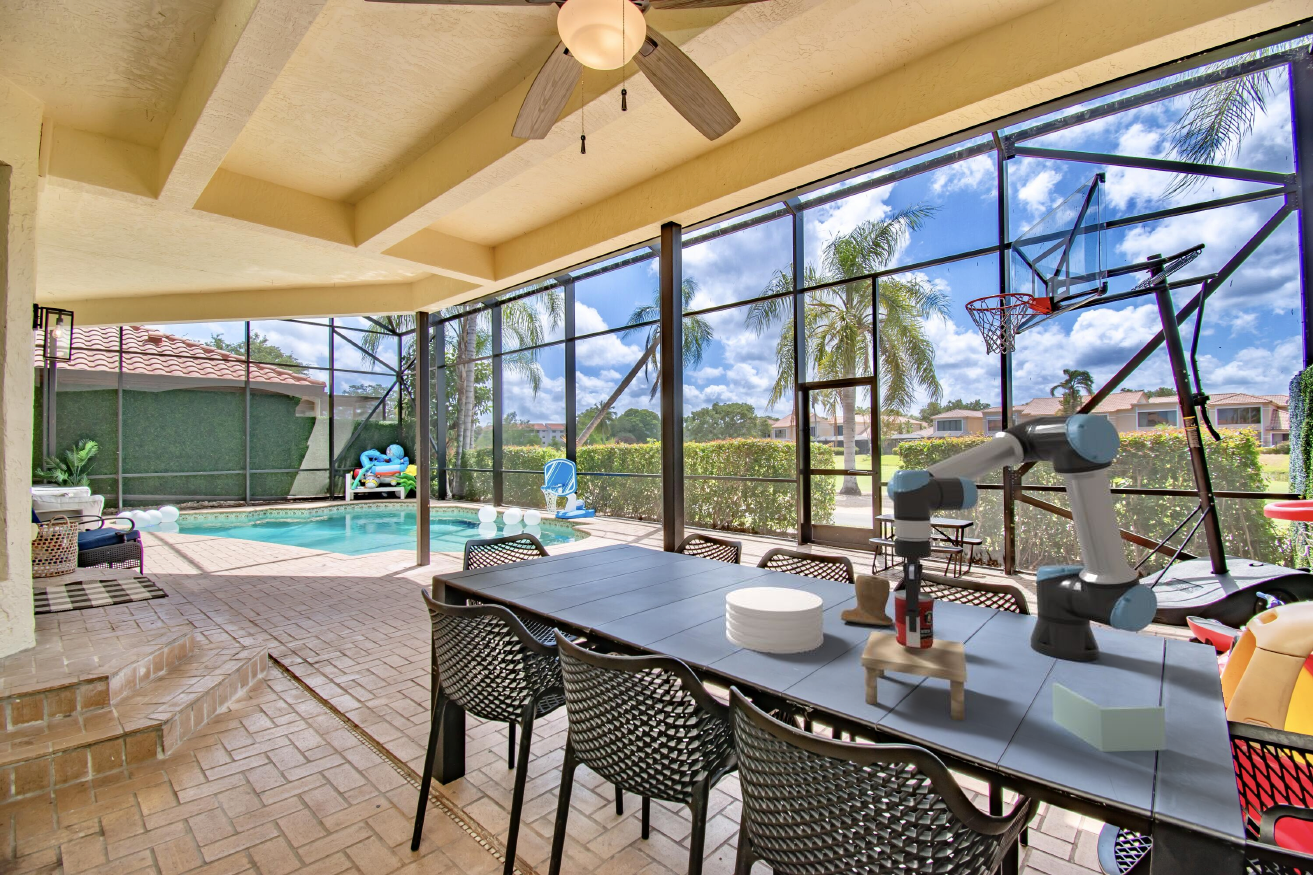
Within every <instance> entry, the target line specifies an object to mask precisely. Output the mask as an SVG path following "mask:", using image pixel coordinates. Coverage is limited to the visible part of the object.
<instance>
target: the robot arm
mask: <svg viewBox="0 0 1313 875" xmlns="http://www.w3.org/2000/svg"><path fill="white" fill-rule="evenodd" d="M1119 448H1121V437H1120V435H1119V432H1118V430H1117V428H1116V427H1115V426H1114V424H1113V423H1112V422H1111V421H1110V420H1109V419H1107V418H1105V417H1104V416H1102V415H1101V414H1100V415H1099V414H1095V413H1093V414H1092V413H1088V414H1086V413H1073V414H1064V415H1055V416H1040V417H1035V418H1031V419H1028V420H1025V421H1022V422H1020V423H1017V424H1014V425H1013V426H1010V427H1008V428H1006V429H1003V430H1001V431H998V432H997V433H995V434H994V435H992V437H991V439H990V440H988V441H986V442H983V443H981V444H979V445H976V446H974V447H972V448H969V449H967V450H964V451H963V452H960V453H958V454H955V455H953V456H951V457H948V458H947V459H944V460H942V461H939V462H937V463H934V464H932V465H929V466H928V467H926V468H923V469H898V470H896V471H895V472H894V473H893V477H891V478H890V480H889V481H888V483H887V485H886V492H887V495H888V498H889V499H890V500H891V501H892V502H893V519H894V522H891V524H890V526H891V527H892V528H893V527H894V528H893V529H894V530H893V532H894V536H895V537H896V538H895V539H894V540H893V542H894V543H893V544H894V545H893V546H894V547H893V548H894V555H896V556H898V557H901V558H903V557H904V558H906V562H903V564H902V572H903V573H904V574H903V583H904V585H905V590H906V611H905V613H903V616H906V645H907V646H912V647H920V616H919V592H920V585H921V586H922V580H923V576H922V575H923V566H924V565H923V563H921V560H920V559H927V558H930V557H931V556H932V542H931V541H930V538H931V537H932V531H931V529H932V528H931V527H932V524H931V522H932V521H931V512H935V511H937V512H938V511H939V512H940V511H949V512H950V511H957V512H961V511H965V510H970V509H973V507H975V506H976V504H977V502H978V499H979V491H978V487H977V486H976V484H975V482H974V480H976V479H979V478H982V477H983V476H986V475H988V474H990V473H992V472H995V471H997V470H999V469H1002V468H1004V467H1006V466H1007V467H1016V466H1019V465H1020V464H1023V463H1031V462H1051V463H1052V467H1053V471H1054V473H1055V474H1056V475H1058V476H1060V477H1061V478H1062V479H1063V481H1064V485H1065V490H1066V493H1067V494H1066V495H1067V499H1068V504H1069V507H1070V511H1071V515H1072V520H1073V523H1074V528H1075V532H1076V536H1077V540H1078V544H1079V545H1078V546H1079V549H1080V553H1081V557H1082V562H1083V565H1084V566H1083V565H1074V564H1073V565H1072V564H1071V565H1069V564H1068V565H1066V564H1062V565H1061V564H1057V565H1056V564H1053V565H1051V564H1050V565H1042V566H1040V567H1038V569H1037V570H1036V580H1035V582H1036V583H1035V584H1036V605H1037V606H1036V607H1037V608H1036V609H1037V611H1036V612H1037V620H1036V622H1035V626H1034V628H1033V631H1032V634H1031V636H1030V647H1031V649H1033V650H1034V651H1036V652H1038V653H1041V654H1043V655H1045V656H1050V657H1054V658H1058V659H1064V660H1071V661H1081V662H1083V661H1084V662H1085V661H1086V662H1087V661H1095V660H1098V659H1099V658H1100V648H1099V645H1098V643H1097V640H1096V638H1095V634H1094V632H1093V630H1092V627H1091V622H1093V623H1096V624H1100V625H1104V626H1108V627H1110V628H1113V629H1115V630H1121V631H1125V632H1130V633H1131V632H1132V633H1133V632H1134V633H1135V632H1139V631H1142V630H1144V629H1145V628H1147V627H1148V626H1149V625H1150V624H1151V623H1152V621H1153V619H1154V618H1155V616H1156V613H1157V609H1158V599H1157V595H1156V593H1155V591H1154V590H1153V589H1152V588H1150V587H1149V586H1147V585H1145V584H1141V581H1140V578H1139V577H1140V576H1139V574H1138V571H1137V570H1135V569H1133V568H1132V567H1130V566H1129V564H1128V561H1127V556H1126V551H1125V547H1124V544H1123V539H1122V535H1121V531H1120V527H1119V523H1118V518H1117V514H1116V509H1115V505H1114V501H1113V498H1112V492H1111V488H1110V483H1109V480H1108V476H1107V475H1108V474H1107V472H1108V471H1109V470H1110V469H1111V468H1112V466H1113V460H1114V459H1115V458H1116V457H1117V456H1118V454H1119V452H1120V450H1119Z"/></svg>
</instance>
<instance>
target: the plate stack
mask: <svg viewBox="0 0 1313 875" xmlns="http://www.w3.org/2000/svg"><path fill="white" fill-rule="evenodd" d="M725 602H726V604H725V611H726V613H725V619H726V622H725V625H726V626H725V628H726V631H725V636H726V638H727V640H728V641H729V642H730V643H732V644H734V645H736V646H738V647H741V648H744V649H747V650H751V651H754V650H755V651H756V652H761V653H767V652H771V653H770V654H797V652H800V653H805V652H804V651H806V652H809V650H810V651H812V650H816V649H818V648H820V647H821V646H822V645H823V644H822V643H824V626H823V625H824V618H823V616H824V610H823V607H824V601H823V599H822V598H821V597H820V596H819V595H817V594H814V593H812V592H808V591H805V590H801V589H795V588H787V587H786V588H785V587H778V586H777V587H775V586H774V587H773V586H769V587H768V586H762V587H761V586H760V587H759V586H757V587H755V586H754V587H747V588H745V587H744V588H740V589H736V590H733V591H730V592H729V593H727V594H726V596H725ZM821 644H822V645H821ZM820 645H821V646H820ZM819 646H820V647H819ZM817 647H818V648H817ZM815 648H816V649H815Z"/></svg>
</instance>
